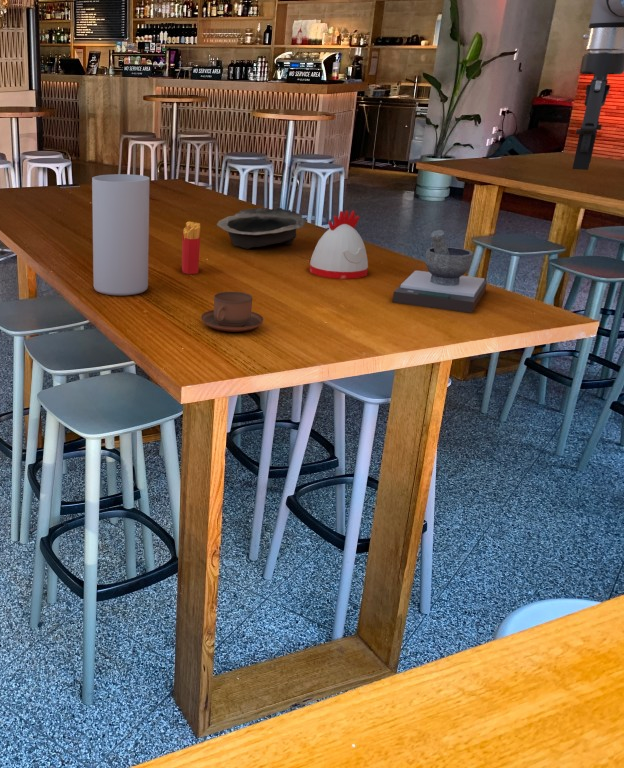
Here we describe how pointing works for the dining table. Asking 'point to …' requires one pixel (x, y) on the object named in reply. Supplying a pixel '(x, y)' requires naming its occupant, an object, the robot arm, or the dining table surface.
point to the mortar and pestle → (446, 261)
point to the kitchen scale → (440, 292)
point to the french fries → (190, 248)
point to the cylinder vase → (120, 234)
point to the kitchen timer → (340, 250)
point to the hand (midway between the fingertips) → (581, 166)
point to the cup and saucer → (232, 313)
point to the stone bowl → (262, 227)
